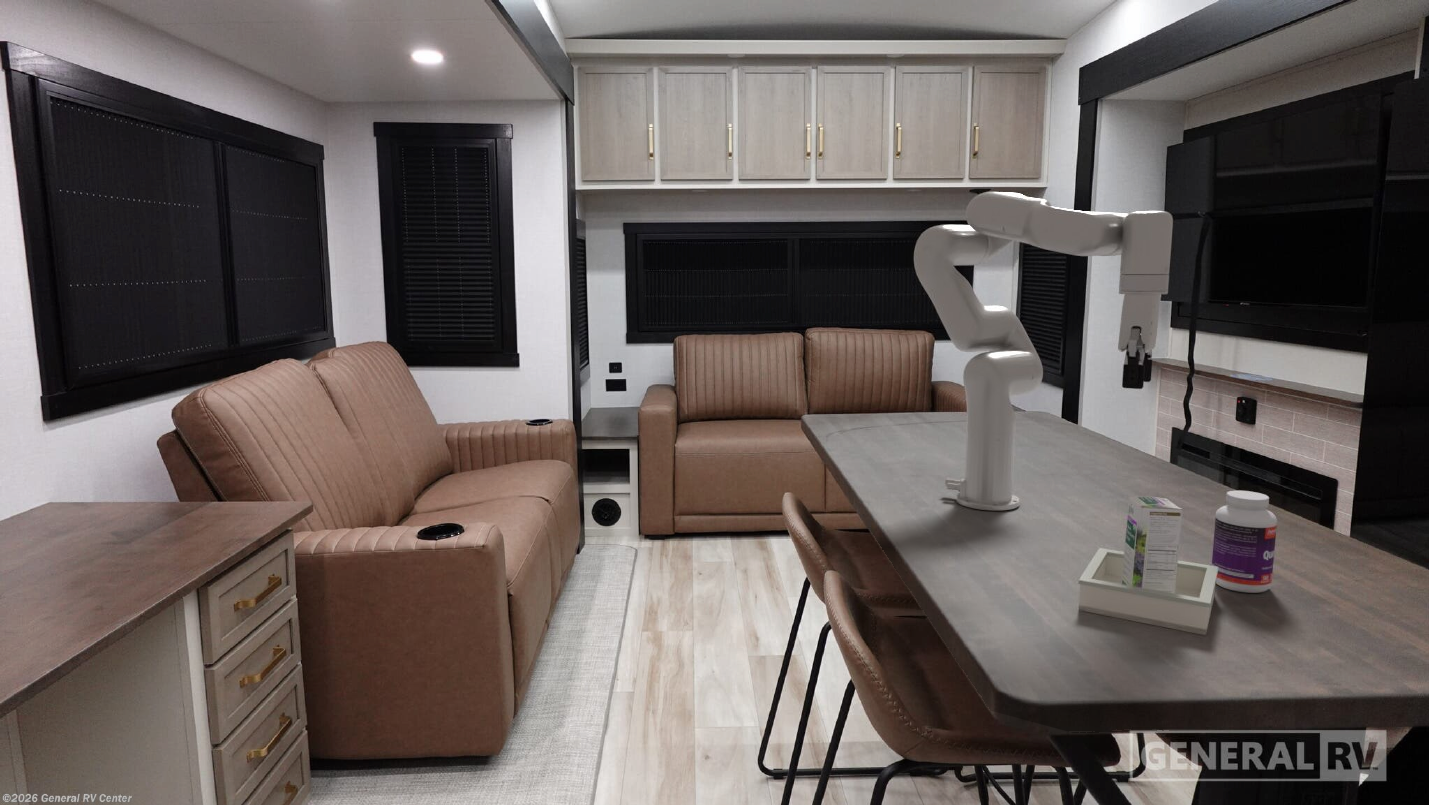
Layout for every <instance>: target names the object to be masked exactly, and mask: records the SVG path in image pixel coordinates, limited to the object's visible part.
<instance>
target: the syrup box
mask: <svg viewBox="0 0 1429 805" xmlns="http://www.w3.org/2000/svg"><path fill="white" fill-rule="evenodd" d="M1182 518H1183V508H1182V507H1179V506H1177V505H1176V504H1175V503H1174V502H1172V501H1171V500H1169V498H1164V497H1157V496H1130V497H1128V507H1127V515H1126V527H1125V528H1126V529H1125V538H1124V539H1125V540H1124V548H1123V549H1124V550H1123V552H1124V561H1123V573H1122V584H1123V585H1129V586H1135V587H1140V588H1146V589H1152V590H1157V591H1163V592H1169V593H1174V594H1175V587H1176V576H1177V564H1178V560H1179V550H1180V543H1181V542H1180V540H1181V530H1182V520H1183V519H1182Z"/></svg>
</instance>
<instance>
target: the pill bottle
mask: <svg viewBox="0 0 1429 805" xmlns="http://www.w3.org/2000/svg"><path fill="white" fill-rule="evenodd" d="M1225 500H1226V501H1225V502H1226V503H1227V504H1226V505H1223V506H1220V507H1219V508H1218V509H1217V510H1216V512H1215V516H1214V517H1215V520H1214V530H1213V532H1214V533H1213V534H1214V535H1213V543H1212V546H1213V547H1212V554H1211V556H1212V557H1211V565H1210V566H1217V567H1218V574H1217V578H1216V583H1215V585H1218V586H1220V587H1222V588H1224V589H1226V590H1230V591H1235V592H1240V593H1251V594H1254V593H1255V594H1257V593H1264V592H1266V591H1268V590H1269V589H1271V587H1272V582H1273V571H1274V560H1275V549H1276V539H1277V528H1278V519H1277V517H1276V515H1275V514H1274V513H1273V512H1272V511H1271V510H1268V509H1267V508H1268V507H1269V505H1270V504H1269V503H1270V497H1269V496H1268V495H1267V494H1264V493H1260V492H1256V491H1255V492H1254V491H1252V490H1251V491H1249V490H1229V491H1227V492H1226V498H1225Z"/></svg>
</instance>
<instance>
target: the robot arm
mask: <svg viewBox="0 0 1429 805" xmlns="http://www.w3.org/2000/svg"><path fill="white" fill-rule="evenodd" d="M965 209H966V210H965V219H966V222H967V224H940V225H934V226H932V227H929V228H927V229H925V231H923V232H922V233H921V234H920V236H919V237H918V239H917V240H916V243H915V247H914V251H913V264H914V269H915V273H916V276H917V278H918V281H919V282H920V283H921V286H922V287H923V289H924V290H925V292H926V294H927V295H928V297H929V298H930V300H931V302H932V304H933V307H934V308H935V310H936V313H937V314H938V317H939V319H940V320H941V323H942V325H943V327H944V329H945V330H946V333H947V335H948V337H949V338H950V341H951V342H952V344H953V345H954V347H955V348H956V349H957V350H959V351H961V352H966V353H978V352H981V353H978V354H976V355H974V356H973V357H972V358H970V359H969V360H968V361H967V363H966V365H965V367H964V370H963V375H962V376H963V379H962V380H963V381H962V382H963V387H964V393H965V401H966V433H965V434H966V438H965V463H964V464H965V465H964V466H965V467H964V478H961V479H955V478H949V477H946V479H945V481H944V483H945V484H944V486H945V487H946V489H947V490H952V491H954V490H955V491H957V492H958V493H957V494H956V499H955V500H956V502H957V503H958V504H960V505H961V506H964V507H966V508H968V509H969V508H970V509H973V510H981V511H992V512H993V511H994V512H995V511H996V512H997V511H998V512H999V511H1008V510H1009V511H1010V510H1013V509H1016V508H1018V507H1020V504H1021V500H1020V498H1019V497H1018V496H1017V495H1014V494H1013V488H1014V486H1013V485H1014V484H1013V483H1014V467H1015V466H1014V462H1015V461H1014V460H1015V444H1016V443H1015V441H1016V439H1015V438H1016V415H1015V411H1014V407H1013V406H1012V401H1011V398H1010V397H1013V396H1021V395H1026V394H1029V393H1031V392H1033V391H1035V390H1036V389H1037V388H1039V386H1040V384H1041V383H1042V380H1043V376H1044V369H1043V365H1042V361H1041V359H1040V356H1039V354H1038V352H1037V350H1036V348H1035V347H1034V344H1033V342H1032V341H1031V339H1030V337H1029V336H1028V333H1027V331H1026V329H1025V327H1024V326H1023V324H1022V322H1021V321H1020V319H1019V317H1018V316H1017V315H1016V314H1015V313H1014V312H1013V311H1012V310H1010V309H1009V308H1007V307H1006V306H1002V305H997V304H995V305H993V304H991V305H984V304H983V303H982V302H981V301H980V299H979V298H978V297H977V294H976V293H975V291H974V289H973V286H972V285H971V284H970V282H969V281H968V279H966V277H965V276H963V275H962V274H961V273H960V272H959V271H958V270H957V269H956V267H955V266H977V265H981V264H984V263H985V262H988V261H989V260H990V259H993V258H994V257H995V256H996V255H997V254H999V253H1000V252H1002V251H1003V250H1004V249H1006V248H1007V247H1009V245H1011V244H1012V243H1014V242H1017V243H1023V244H1028V245H1031V246H1033V247H1036V248H1040V249H1043V250H1048V251H1051V252H1057V253H1062V254H1065V255H1066V254H1067V255H1072V256H1080V257H1094V256H1095V257H1097V256H1098V257H1116V256H1120V265H1119V266H1120V268H1119V269H1120V270H1119V282H1118V283H1119V285H1118V294H1119V295H1120V294H1121V295H1124V296H1123V301H1122V307H1121V315H1120V317H1121V318H1120V324H1119V326H1120V327H1119V333H1118V334H1119V337H1118V343H1117V344H1118V345H1117V346H1118V347H1117V350H1118V351H1119V352H1120V353H1122V352H1125V355H1124V364H1123V367H1122V380H1121V381H1122V382H1121V383H1122V384H1121V386H1122V388H1124V389H1134V390H1142V389H1143V388H1144V386H1145V385H1144V383H1150V382H1151V381H1152V370H1153V369H1152V368H1153V359H1152V357H1153V353H1152V352H1153V350H1154V349H1155V347H1156V344H1157V343H1156V342H1157V336H1158V329H1159V328H1158V327H1159V316H1160V314H1159V313H1160V302H1161V301H1160V300H1161V299H1160V298H1161V295H1168V293H1169V282H1170V264H1171V256H1172V255H1171V251H1172V239H1173V237H1172V236H1173V225H1174V224H1173V223H1174V219H1173V215H1172V214H1171V213H1170V212H1168V211H1165V210H1164V211H1163V210H1148V211H1147V210H1145V211H1133V212H1130V213H1121V212H1106V211H1105V212H1104V211H1082V210H1074V209H1069V208H1068V209H1067V208H1061V207H1056V206H1052V204H1051V203H1050V202H1049V201H1048V200H1046V199H1045V198H1036V197H1031V196H1030V197H1029V196H1026V195H1023V194H1022V193H1018V192H1007V191H1006V192H1003V191H1000V192H999V191H986V192H982V193H980V194H977V195H976V196H974V197H973V198H972V199H971V200H970V201H969V203H968V204H967V206H966V208H965Z"/></svg>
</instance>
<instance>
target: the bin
mask: <svg viewBox="0 0 1429 805" xmlns="http://www.w3.org/2000/svg"><path fill="white" fill-rule="evenodd" d="M1123 561H1124V551H1122V550H1114V549H1109V548H1102V547H1099V548H1098V550H1097V551H1096V552H1095V553H1094V556H1093V557H1092V559H1091V560H1090V561H1089V563H1088V565H1087V567H1086V568H1085V570H1084V571H1083V573H1082V574H1081V575H1080V578H1079V579H1078V584H1079V598H1078V599H1079V600H1078V611H1080V612H1086V613H1090V614H1091V613H1092V614H1097V615H1102V616H1107V617H1111V618H1116V619H1120V620H1127V621H1131V622H1137V623H1142V624H1146V625H1147V624H1148V625H1151V626H1157V627H1160V628H1161V627H1163V628H1166V629H1167V628H1168V629H1172V630H1178V631H1182V632H1186V633H1193V634H1198V635H1204V636H1207V633H1208V627H1209V623H1210V619H1211V614H1212V610H1213V609H1212V608H1213V605H1214V601H1215V595H1216V594H1215V593H1216V591H1215V590H1216V578H1217V574H1218V567H1217V566H1211V565H1209V564H1203V563H1197V562H1189V561H1184V560H1179V559H1178V564H1177V576H1176V587H1175V594H1174V593H1169V592H1163V591H1157V590H1152V589H1146V588H1140V587H1135V586H1129V585H1123V584H1122V573H1123Z"/></svg>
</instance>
